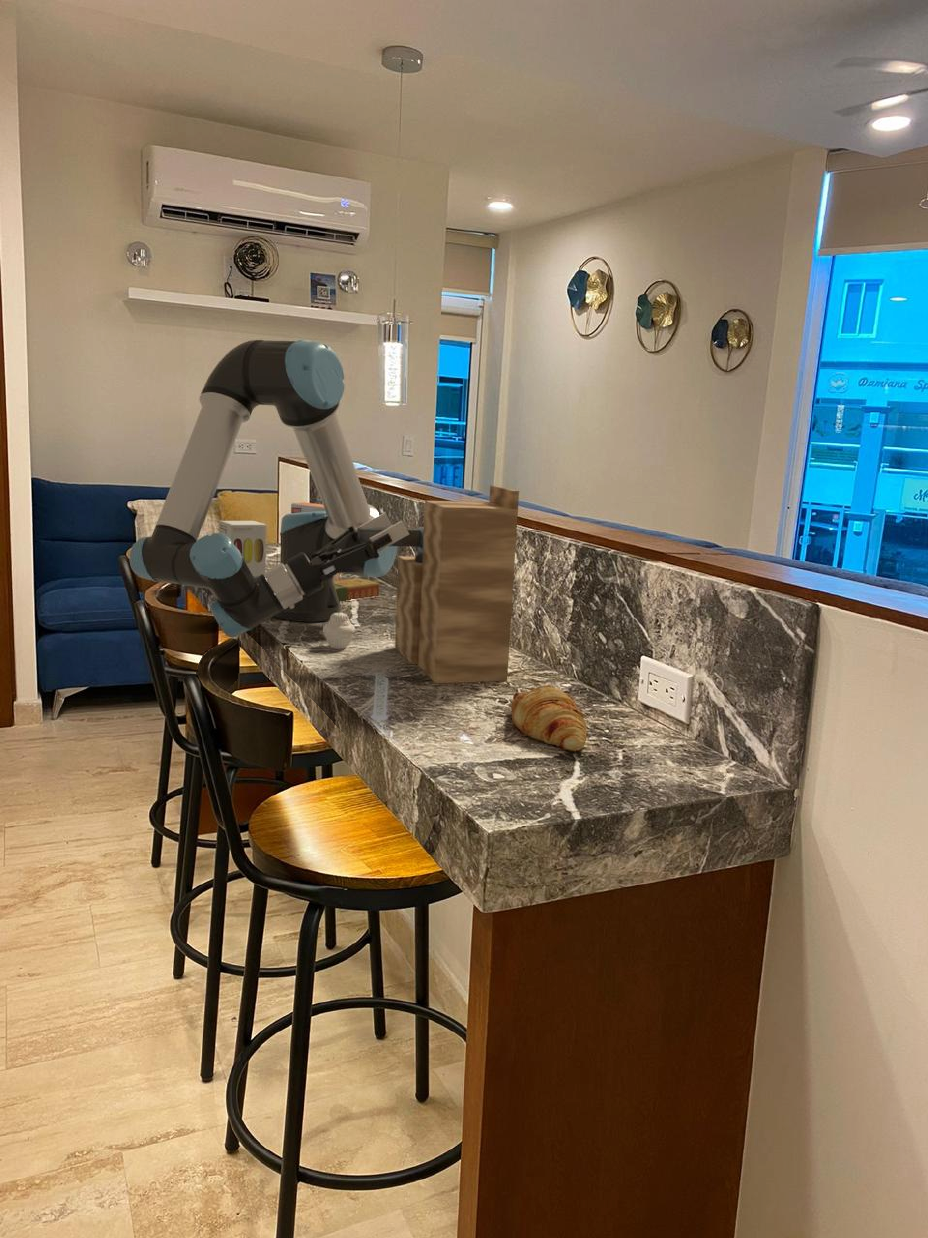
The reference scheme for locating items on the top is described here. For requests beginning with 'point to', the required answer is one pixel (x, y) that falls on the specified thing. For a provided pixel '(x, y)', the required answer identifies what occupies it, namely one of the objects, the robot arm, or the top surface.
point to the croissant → (549, 717)
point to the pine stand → (460, 590)
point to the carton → (356, 589)
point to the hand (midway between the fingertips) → (396, 522)
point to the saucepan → (410, 540)
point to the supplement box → (248, 542)
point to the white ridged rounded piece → (338, 631)
